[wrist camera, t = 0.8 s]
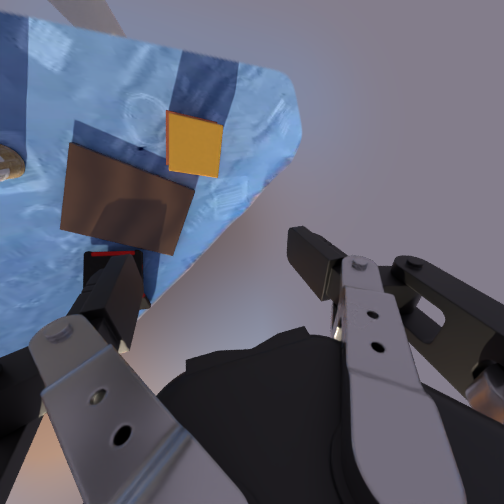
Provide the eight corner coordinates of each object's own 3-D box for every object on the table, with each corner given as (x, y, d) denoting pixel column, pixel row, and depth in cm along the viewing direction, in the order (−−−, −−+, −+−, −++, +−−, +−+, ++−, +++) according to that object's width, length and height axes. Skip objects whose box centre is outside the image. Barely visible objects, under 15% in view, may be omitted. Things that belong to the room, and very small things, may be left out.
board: (62, 227, 34) (59, 229, 34) (72, 141, 30) (69, 142, 29) (172, 253, 42) (172, 256, 41) (194, 189, 37) (195, 191, 37)
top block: (171, 163, 26) (168, 170, 21) (171, 117, 23) (168, 112, 18) (211, 169, 27) (218, 178, 22) (215, 127, 25) (223, 125, 20)
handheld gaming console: (82, 251, 36) (104, 257, 45) (80, 322, 34) (104, 313, 44) (142, 249, 38) (151, 255, 48) (143, 315, 37) (152, 308, 47)
